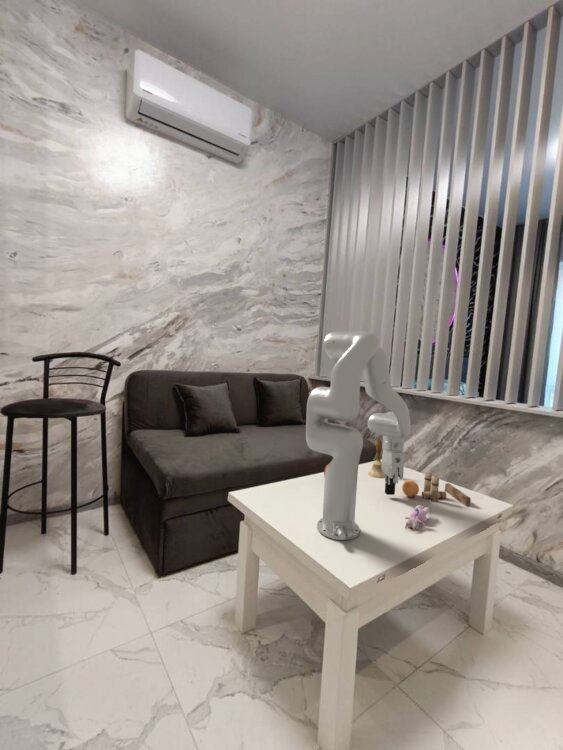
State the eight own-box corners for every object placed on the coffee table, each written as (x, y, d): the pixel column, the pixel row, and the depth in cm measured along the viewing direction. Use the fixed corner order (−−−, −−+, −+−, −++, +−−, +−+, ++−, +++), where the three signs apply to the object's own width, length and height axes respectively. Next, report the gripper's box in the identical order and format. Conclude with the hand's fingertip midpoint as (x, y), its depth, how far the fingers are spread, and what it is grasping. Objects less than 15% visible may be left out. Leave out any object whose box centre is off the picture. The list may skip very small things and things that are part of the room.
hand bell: (378, 479, 151) (380, 442, 150) (364, 473, 158) (366, 438, 157) (391, 476, 155) (393, 440, 154) (377, 470, 162) (379, 436, 161)
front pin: (424, 499, 132) (446, 499, 133) (425, 493, 132) (446, 493, 132) (421, 496, 134) (442, 496, 135) (421, 490, 134) (443, 490, 135)
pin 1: (431, 496, 135) (433, 474, 134) (425, 496, 135) (427, 474, 134) (428, 493, 137) (430, 472, 137) (422, 493, 137) (423, 472, 137)
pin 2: (438, 502, 130) (440, 479, 129) (432, 502, 130) (434, 479, 129) (435, 499, 132) (437, 477, 132) (428, 499, 132) (430, 477, 132)
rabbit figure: (420, 539, 106) (434, 514, 117) (420, 521, 105) (434, 498, 116) (399, 531, 110) (415, 508, 121) (399, 514, 109) (415, 492, 120)
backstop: (470, 506, 128) (470, 498, 127) (466, 506, 127) (466, 498, 127) (448, 490, 141) (449, 483, 141) (444, 490, 141) (445, 483, 141)
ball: (409, 478, 132) (405, 494, 130) (423, 483, 132) (420, 499, 131) (401, 477, 138) (397, 492, 136) (414, 482, 138) (411, 498, 136)
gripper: (411, 451, 124) (408, 502, 125) (394, 440, 138) (391, 486, 140) (391, 451, 123) (387, 502, 124) (375, 440, 138) (373, 486, 139)
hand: (389, 493), depth 132 cm, fingers closed
